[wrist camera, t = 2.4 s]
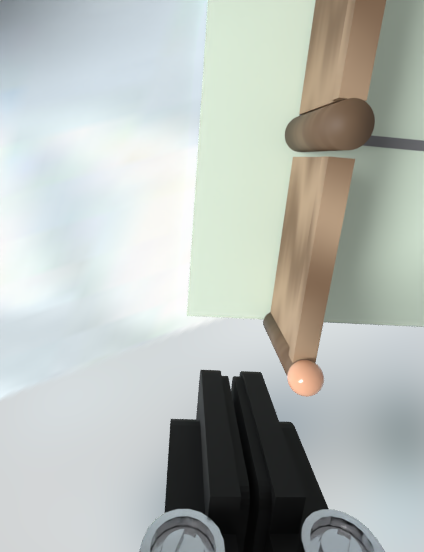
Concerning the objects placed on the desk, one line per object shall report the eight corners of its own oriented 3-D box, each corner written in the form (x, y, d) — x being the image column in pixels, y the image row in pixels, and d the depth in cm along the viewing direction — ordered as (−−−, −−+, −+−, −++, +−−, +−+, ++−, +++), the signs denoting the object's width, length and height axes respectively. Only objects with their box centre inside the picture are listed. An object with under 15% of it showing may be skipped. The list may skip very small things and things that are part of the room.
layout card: (215, -117, 18) (216, -124, 17) (582, -59, 20) (591, -63, 19) (186, 313, 25) (186, 316, 24) (458, 326, 27) (462, 328, 26)
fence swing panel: (284, 156, 21) (334, 155, 14) (314, 158, 21) (378, 159, 14) (260, 332, 25) (290, 403, 18) (285, 334, 25) (325, 404, 18)
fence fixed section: (314, -89, 18) (385, -223, 12) (353, -83, 18) (443, -212, 12) (282, 150, 21) (323, 148, 15) (315, 153, 22) (368, 152, 15)
